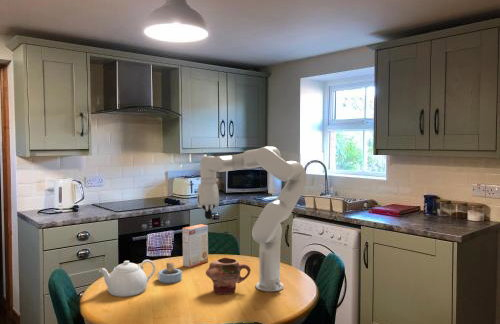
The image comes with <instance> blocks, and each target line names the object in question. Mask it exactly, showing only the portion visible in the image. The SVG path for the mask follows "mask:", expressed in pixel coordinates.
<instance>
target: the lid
mask: <svg viewBox="0 0 500 324" xmlns="http://www.w3.org/2000/svg"><path fill="white" fill-rule="evenodd" d="M166 269H167V274H174V269H175V263H174V262H167V263H166Z"/></svg>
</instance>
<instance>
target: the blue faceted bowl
mask: <svg viewBox="0 0 500 324" xmlns="http://www.w3.org/2000/svg"><path fill="white" fill-rule="evenodd" d="M157 273H158V277H157V278H158V282H159V283H160V284H167V285H170V284H172V285H173V284H176V283H179V282H181V281H182V278H183V271H182V270H181V269H180V268H174V274H167V268H164V269H161V270H159V271H158V272H157Z"/></svg>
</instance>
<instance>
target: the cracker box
mask: <svg viewBox="0 0 500 324" xmlns="http://www.w3.org/2000/svg"><path fill="white" fill-rule="evenodd" d="M208 231H209V226H208V224H202V223H199V224H196V225H190V226H185V227H182V231H181V232H182V266H183V267H186V268H193V267H196V266H199V265H200V266H201V265H202V264H205V263H208V262H209V236H208V235H209V232H208Z"/></svg>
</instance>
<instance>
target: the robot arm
mask: <svg viewBox="0 0 500 324" xmlns="http://www.w3.org/2000/svg"><path fill="white" fill-rule="evenodd" d="M256 168H263V169H264V170H265V171H266V172H267V173H269V174H270V175H271V176H273V177H274V178H276V179H277V180H279V181H281V182H286V183H285V185H284V186H283V188H282V189H281V191H280V193H279V195H278V196H277V198H276V199H275V200H273V201H271V202H269V203H267V204H266V205H265V206H264V208H263V209H262V210H261V212H260V213H259V216H258V217H257V219H256V221H255V223H254V224H253V227H252V228H251V237H252V239H253V240H254V242H256V243H257V244H259V261H258V262H259V263H258V264H259V266H258V267H259V268H258V269H259V270H258V273H259V274H258V280H259V281H258V282H257V283H255V288H256V289H257V290H259V291H263V292H269V293H270V292H271V293H273V292H279V291H281V290H283V288H284V284H283V282H281V244H282V243H281V242H282V235H283V227H282V224H281V223H282V222H284V221H285V220H287V219H289V217H290V216H291V214H292V212H293V210H294V208H295V207H296V205H297V203H298V201H299V200H300V197H302V194H303V192H304V191H305V189H306V186H307V180H308V179H307V178H308V177H307V172H306V170H305V168H304V167H303V165H302V164H301V163H300V162H298V161H294V160H289V161H286V160H284V159H283V158H282V156H281V152H280V150H279V149H278V148H277V147H275V146H263V147H259V148H255V149H249V150H245V151H243V152H242V153H237V154H230V155H218V156H213V155H204V156H201V158H200V183H199V184H198V187H197V193H196V195H197V196H196V203H197V207H198V208H201V209H203V210H204V218H205V219H206V220H211V219H212V216H213V215H212V214H213V212H212V211H213V210H214V208H217V207H220V206H219V203H220V194H219V193H220V192H219V187H218V184H217V182H219V178H217V172H218V173H222V172H230V171H237V170H243V169H244V170H245V169H247V170H249V169H256Z"/></svg>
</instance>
